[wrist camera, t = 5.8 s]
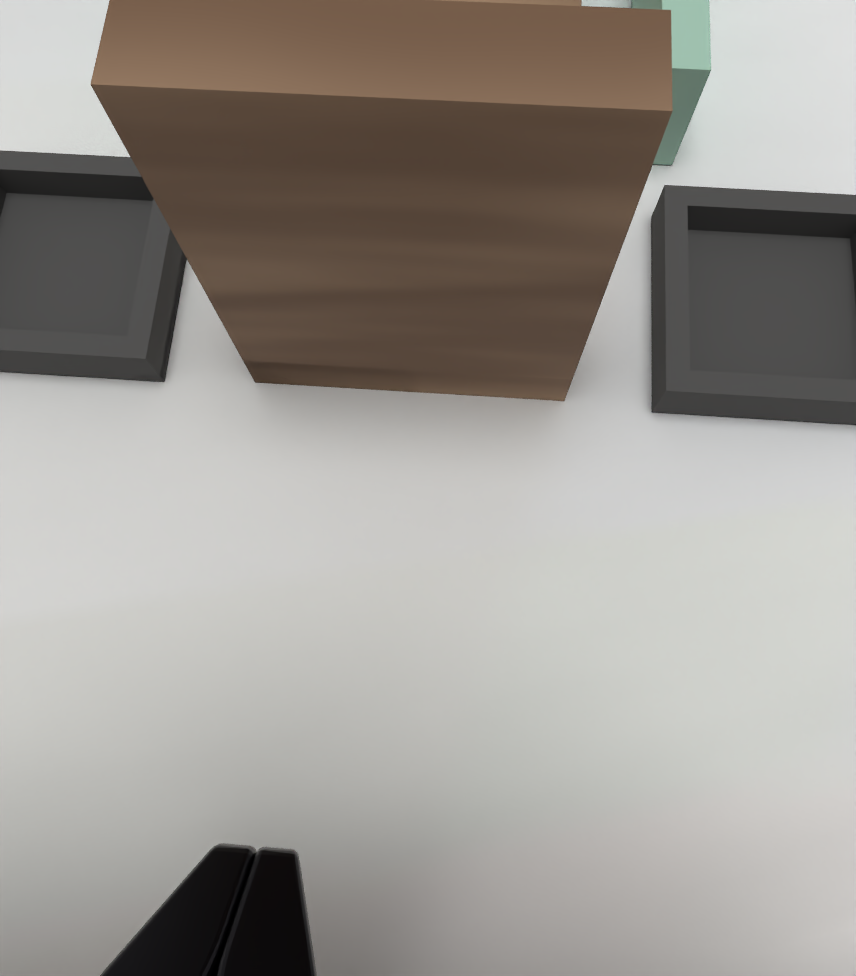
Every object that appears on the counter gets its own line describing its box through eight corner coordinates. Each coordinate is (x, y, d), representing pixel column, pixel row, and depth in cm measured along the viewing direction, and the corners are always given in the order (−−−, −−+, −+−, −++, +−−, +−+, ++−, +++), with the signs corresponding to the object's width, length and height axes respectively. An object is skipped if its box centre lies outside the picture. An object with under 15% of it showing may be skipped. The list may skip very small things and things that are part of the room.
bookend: (563, 401, 18) (672, 110, 10) (255, 383, 18) (90, 84, 10) (574, 11, 21) (664, -476, 13) (309, 0, 22) (219, -485, 13)
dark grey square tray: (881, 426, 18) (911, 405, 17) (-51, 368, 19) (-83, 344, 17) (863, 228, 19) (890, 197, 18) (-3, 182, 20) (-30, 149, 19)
